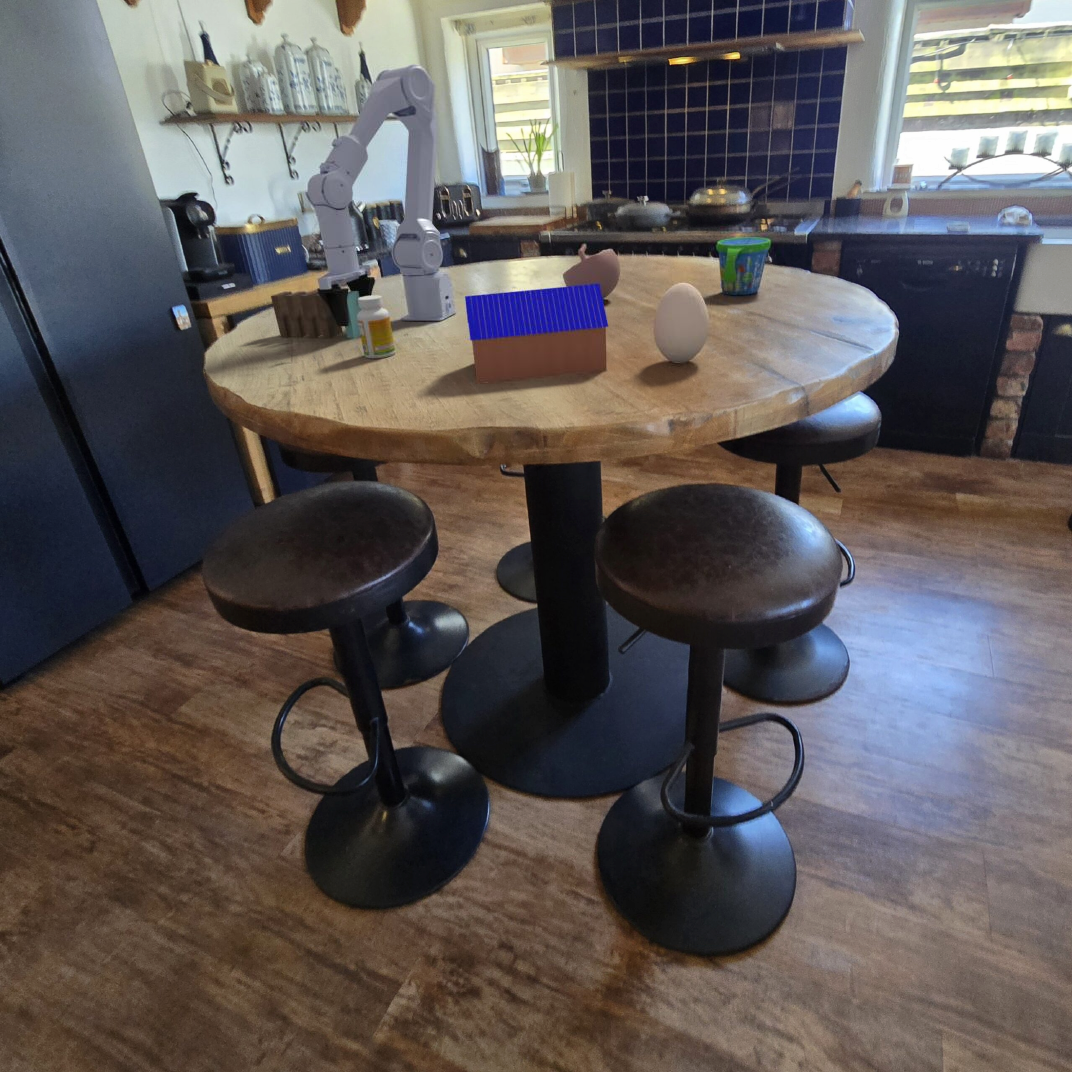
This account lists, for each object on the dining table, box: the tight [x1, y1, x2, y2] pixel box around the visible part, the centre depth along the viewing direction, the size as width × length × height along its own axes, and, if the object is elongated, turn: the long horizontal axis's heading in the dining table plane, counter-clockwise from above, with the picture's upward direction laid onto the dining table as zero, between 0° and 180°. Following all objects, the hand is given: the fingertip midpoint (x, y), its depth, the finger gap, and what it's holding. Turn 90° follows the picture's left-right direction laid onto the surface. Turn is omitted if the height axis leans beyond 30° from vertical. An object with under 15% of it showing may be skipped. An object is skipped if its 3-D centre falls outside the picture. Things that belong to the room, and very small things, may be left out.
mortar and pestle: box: [562, 243, 621, 299], centre depth 146 cm, size 12×12×11 cm
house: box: [464, 284, 609, 384], centre depth 104 cm, size 12×20×12 cm, turn 97°
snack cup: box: [715, 236, 772, 296], centre depth 143 cm, size 16×10×10 cm
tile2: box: [314, 294, 344, 339], centre depth 135 cm, size 2×4×8 cm, turn 160°
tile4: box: [285, 290, 309, 339], centre depth 137 cm, size 2×4×8 cm, turn 161°
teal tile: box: [344, 290, 361, 339], centre depth 133 cm, size 2×4×8 cm, turn 161°
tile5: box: [270, 291, 294, 338], centre depth 138 cm, size 2×4×8 cm, turn 161°
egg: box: [652, 282, 710, 364], centre depth 101 cm, size 8×8×11 cm
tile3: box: [300, 290, 323, 339], centre depth 136 cm, size 2×4×8 cm, turn 160°
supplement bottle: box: [357, 294, 396, 360], centre depth 118 cm, size 5×5×10 cm
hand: (354, 321), depth 134 cm, fingers open, 7 cm apart
